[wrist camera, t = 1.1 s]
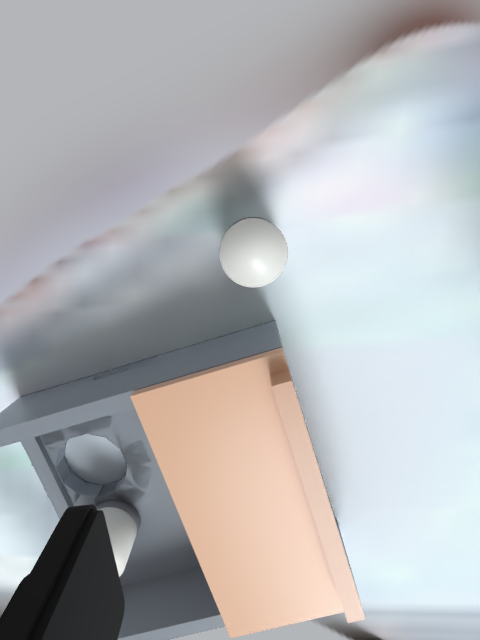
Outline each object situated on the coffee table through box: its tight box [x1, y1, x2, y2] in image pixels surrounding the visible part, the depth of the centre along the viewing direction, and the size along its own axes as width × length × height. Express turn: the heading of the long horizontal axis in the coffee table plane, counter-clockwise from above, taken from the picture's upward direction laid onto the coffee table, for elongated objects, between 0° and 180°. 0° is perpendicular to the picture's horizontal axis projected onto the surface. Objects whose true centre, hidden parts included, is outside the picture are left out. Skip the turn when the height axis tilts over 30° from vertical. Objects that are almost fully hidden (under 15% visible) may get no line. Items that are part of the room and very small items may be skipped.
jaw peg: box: [219, 217, 288, 288], centre depth 28 cm, size 4×4×6 cm
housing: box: [0, 320, 357, 640], centre depth 32 cm, size 23×20×7 cm
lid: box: [130, 348, 365, 638], centre depth 27 cm, size 10×20×3 cm, turn 18°
